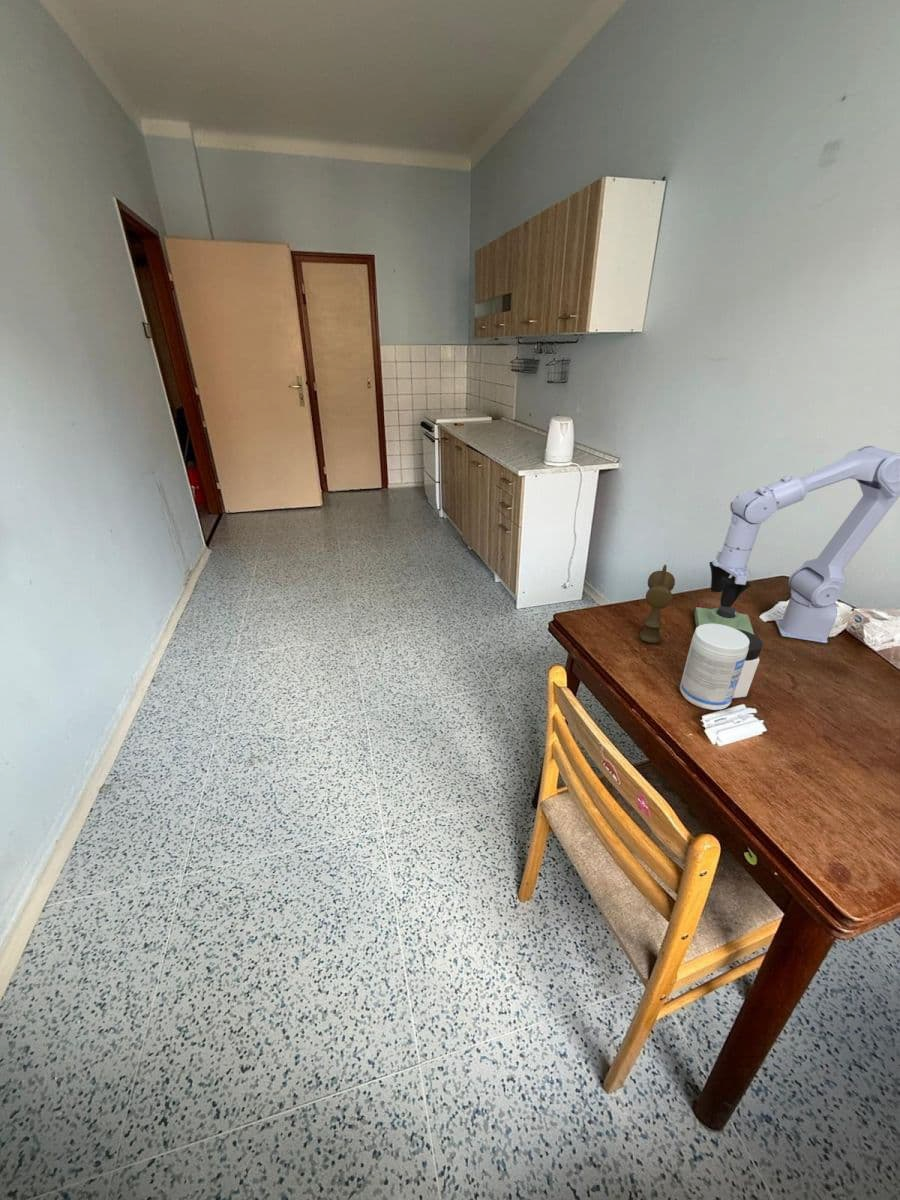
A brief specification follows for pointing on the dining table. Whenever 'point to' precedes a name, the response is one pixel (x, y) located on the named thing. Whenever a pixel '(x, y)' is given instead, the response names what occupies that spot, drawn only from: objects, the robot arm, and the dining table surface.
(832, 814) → the dining table surface
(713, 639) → the supplement tub
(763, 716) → the dining table surface
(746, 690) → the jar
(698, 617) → the green button box
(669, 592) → the kendama
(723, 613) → the push button
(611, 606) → the dining table surface
